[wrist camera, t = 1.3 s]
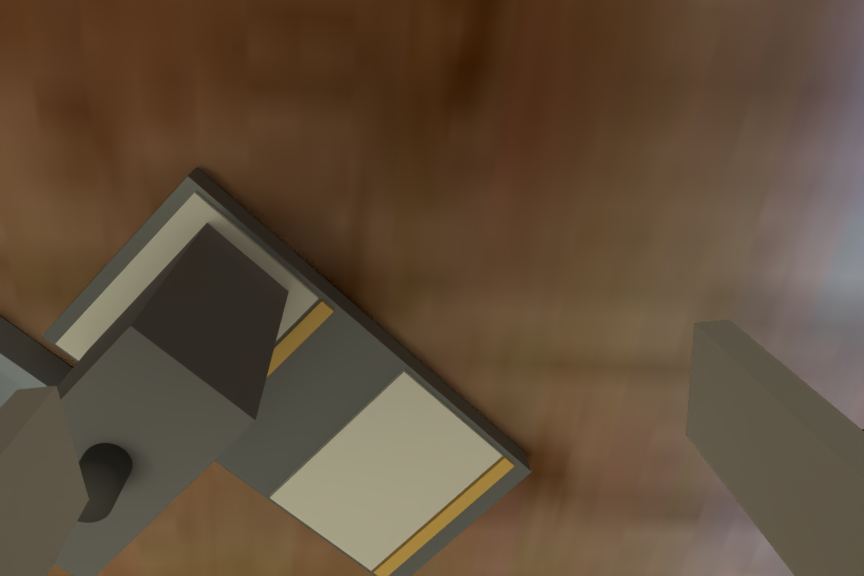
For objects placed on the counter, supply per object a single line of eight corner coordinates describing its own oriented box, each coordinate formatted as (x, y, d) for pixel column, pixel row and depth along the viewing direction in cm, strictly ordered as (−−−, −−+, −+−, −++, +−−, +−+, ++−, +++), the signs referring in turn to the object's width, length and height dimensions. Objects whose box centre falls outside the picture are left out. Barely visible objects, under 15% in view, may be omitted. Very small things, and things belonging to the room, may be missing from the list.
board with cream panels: (57, 320, 37) (39, 339, 35) (196, 167, 35) (186, 177, 33) (393, 565, 44) (394, 593, 42) (524, 451, 42) (532, 474, 40)
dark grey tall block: (87, 350, 35) (-74, 547, 22) (206, 222, 34) (109, 354, 20) (170, 411, 37) (65, 628, 24) (288, 291, 35) (246, 454, 22)
